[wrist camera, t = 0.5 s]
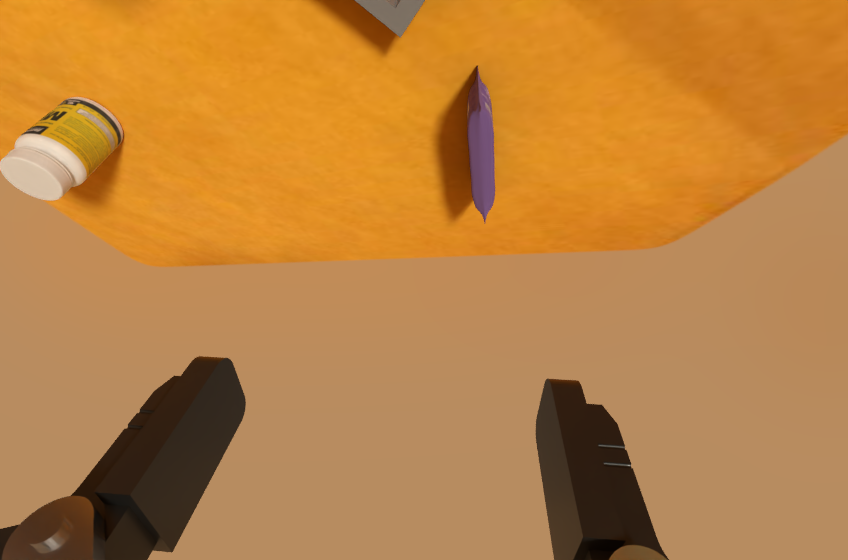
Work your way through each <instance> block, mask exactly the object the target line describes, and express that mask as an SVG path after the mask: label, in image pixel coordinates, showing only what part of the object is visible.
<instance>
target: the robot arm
mask: <svg viewBox="0 0 848 560" xmlns="http://www.w3.org/2000/svg"><path fill="white" fill-rule="evenodd" d="M245 403H246V402H245V396H244V393H243V390H242V388H241V385H240V382H239V379H238V376H237V374H236V371H235V368H234V366H233V363H232V361H231V360H230V359H228V358H217V357H197V358H195V359H194V360H193V361H192V362H191V363H190V364H189V366H188V367H187V369H186V370H185V371H184V372H183V374H182V375H181V376H174V377H172V378H171V379H170V380H168V381H167V382H166V383H164V384H163V385H162V386H160V387H159V388H158V389H157V390H155V391H154V392H153V393H152V395H151V396H150V397H149V398H148V400H147V401H146V402H145V404H144V405H143V406H142V407H141V409H140V412H139V413H137V414H136V415H135V416H134V418H133V419H132V420H131V421H130V423H129V424H128V428H127V429H124V430H123V432H122V433H121V434H120V435H119V437H118V438H117V439H116V440H115V442H114V443H113V444H112V445H111V447H110V448H109V449H108V451H107V452H106V453H105V455H104V456H103V457H102V458H101V459H100V461H99V462H98V463H97V465H96V466H95V467H94V468H93V470H92V471H91V472H90V474H89V475H88V476H87V477H86V479H85V480H84V481H83V483H82V484H81V485H80V486H79V487H78V488H77V490H76V491H75V492H74V493H73V494H72V495H71V496H67V497H64V498H60V499H57V500H54V501H52V502H50V503H48V504H46V505H44V506H42V507H41V508H39V509H37V510H36V511H35V512H33V513H32V514H31V515H29V516H28V517H27V518H26V519H25V520H24V521H23V522H22V523H21V524H20V525H16V526H11V527H7V528H3V529H0V560H147V559H148V557H149V555H150V554H151V552H152V550H154V551H165V552H173V550H174V548H175V546H176V544H177V542H178V540H179V539H180V537H181V535H182V533H183V531H184V529H185V527H186V525H187V523H188V521H189V520H190V518H191V516H192V514H193V512H194V510H195V508H196V506H197V504H198V503H199V501H200V499H201V497H202V495H203V493H204V491H205V489H206V487H207V485H208V484H209V482H210V480H211V478H212V476H213V474H214V472H215V470H216V468H217V466H218V465H219V463H220V461H221V459H222V457H223V455H224V453H225V451H226V449H227V447H228V446H229V444H230V442H231V440H232V438H233V436H234V434H235V432H236V430H237V428H238V427H239V424H240V423H241V421H242V419H243V416H244V412H245ZM536 443H537V449H538V456H539V463H540V469H541V476H542V482H543V488H544V495H545V502H546V509H547V515H548V521H549V528H550V535H551V541H552V548H553V554H554V560H669V559H668V558H667V556H666V555H665V554H664V552H663V550H662V548H661V547H660V544H659V542H658V540H657V537H656V535H655V531H654V529H653V526H652V523H651V520H650V517H649V514H648V511H647V508H646V505H645V502H644V500H643V497H642V494H641V491H640V488H639V485H638V482H637V480H636V477H635V474H634V471H633V469H632V468H631V462H630V459H629V456H628V453H627V451H626V450H625V445H624V442H623V439H622V436H621V433H620V430H619V427H618V424H617V423H616V422H615V421H614V419H613V418H612V417H611V416H610V414H609V413H608V412H607V411H606V410H605V408H604V407H603V406H602V405H594V404H586V400H585V397H584V394H583V390H582V387H581V384H580V383H579V381H575V380H558V379H546V381H545V384H544V388H543V393H542V397H541V401H540V406H539V410H538V414H537V419H536Z"/></svg>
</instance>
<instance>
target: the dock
mask: <svg viewBox="0 0 848 560" xmlns="http://www.w3.org/2000/svg"><path fill="white" fill-rule="evenodd" d="M355 1H356V2H357V3H359V4H360V5H361V6H362V7H363V8H365V9H366V10H367V11H368V12H370V13H371V14H372V15H373V16H375V17H376V18H377V19H378V20H380V21H381V22H382V23H383V24H384V25H386V26H387V27H388V28H389V29H391V30H392V31H393V32H394V33H396V34H397V35H398V36H399V37H400V38H401V36H402V34H403V33H404V31H405V30H406V28H407V27H408V25H409V24H410V22H411V21H412V19H413V18H414V16H415V15H416V13H417V12H418V10H419V9H420V7H421V6H422V4H423V2H424V1H425V0H355Z"/></svg>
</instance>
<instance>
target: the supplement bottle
mask: <svg viewBox="0 0 848 560" xmlns="http://www.w3.org/2000/svg"><path fill="white" fill-rule="evenodd" d="M122 140H123V130H122V127H121V125H120V123H119V122H118V120H117V119H116V118H115V116H114V115H113V114H112V113H111V112H109V111H108V110H107V109H106V108H104V107H103V106H101V105H100V104H98V103H96V102H94V101H92V100H90V99H87V98H82V97H71V98H68V99H66V100H65V101H63V102H62V103H61V104H60V105H58V106H57V107H56V108H55V109H54V110H52V111H51V112H50V113H48V114H47V115H46V116H45V117H43V118H42V119H41V120H40V121H38V122H37V123H36V124H35V125H33V126H32V127H31V128H30V129H28V130H27V131H26V132H25V133H23V134H22V135H21V136H20V137H19V138H18V139H17V140H16V143H15V149H13V150H11V151H10V152H9V153H8V154H7V155H6V156H5V157H4V158H3V159H2V160H1V161H0V170H1V172H2V174H3V175H4V177H5V178H6V179H7V180H8V181H9V182H10V183H11V184H12V185H14V186H15V187H16V188H18V189H19V190H21V191H22V192H24V193H26V194H28V195H30V196H33V197H35V198H38V199H42V200H48V201H53V200H57V199H59V198H61V197H62V196H63V195H64V194H65V193H66V192H67V191H69V189H70V188H71V187H75V186H78V185H80V184H82V183H83V182H84V181H85V180H86V179H87V178H88V177H89V176H90V175H91V174H92V173H93V172H94V171H95V170H96V169H97V168H98V166H99V165H100V164H101V163H102V162H103V161H104V160H105V159H106V158H107V157H108V156H109V155H110V154H111V153H112V152H113V151H114V150H115V149H116V148H117V147H118V146H119V145H120V143H121V142H122Z"/></svg>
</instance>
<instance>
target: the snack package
mask: <svg viewBox="0 0 848 560" xmlns="http://www.w3.org/2000/svg"><path fill="white" fill-rule="evenodd" d="M477 68H478V66H477ZM467 119H468V122H467V124H468V146H469V159H470V172H471V187H472V197H473V201H474V204H475V207H476V208H477V209H478V211H480V212H481V214H482V216H483V219H484V222H485V220H486V216H487V213H488V212H489V210H490V209H491V208H492V206H493V202H494V197H495V179H494V133H493V120H492V108H491V100H490V95H489V92H488V89H487V87H486V86H485V85H484V84H483V83H482V81H481V79H480V76H479V72H478V74H476V79H475V82H474V84H473V86H472V87H471V89H470V91H469V96H468V106H467Z"/></svg>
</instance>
